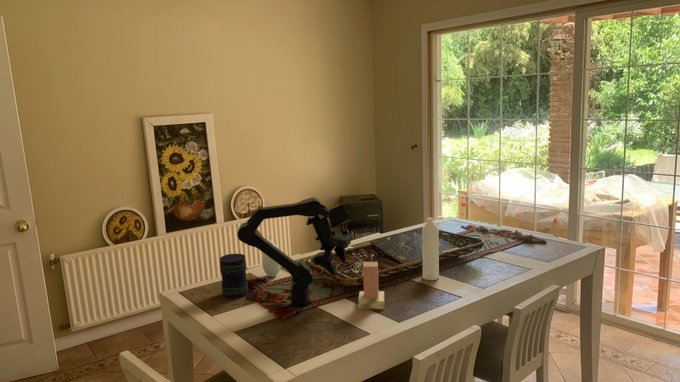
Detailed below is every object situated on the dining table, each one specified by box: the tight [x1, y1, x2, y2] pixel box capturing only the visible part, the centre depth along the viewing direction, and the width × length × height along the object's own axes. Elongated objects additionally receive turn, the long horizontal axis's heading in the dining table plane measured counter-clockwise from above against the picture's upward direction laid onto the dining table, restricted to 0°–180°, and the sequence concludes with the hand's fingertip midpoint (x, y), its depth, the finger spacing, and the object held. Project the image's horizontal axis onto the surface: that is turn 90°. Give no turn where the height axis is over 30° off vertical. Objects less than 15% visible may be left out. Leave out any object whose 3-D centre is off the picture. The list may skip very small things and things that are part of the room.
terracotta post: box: [362, 261, 380, 299], centre depth 179 cm, size 5×5×12 cm
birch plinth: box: [357, 290, 385, 310], centre depth 181 cm, size 9×9×3 cm
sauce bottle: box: [261, 237, 282, 278], centre depth 211 cm, size 8×8×18 cm
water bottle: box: [421, 215, 444, 281], centre depth 202 cm, size 9×6×25 cm
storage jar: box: [219, 253, 249, 300], centre depth 194 cm, size 10×10×15 cm
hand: (339, 269), depth 183 cm, fingers open, 9 cm apart
